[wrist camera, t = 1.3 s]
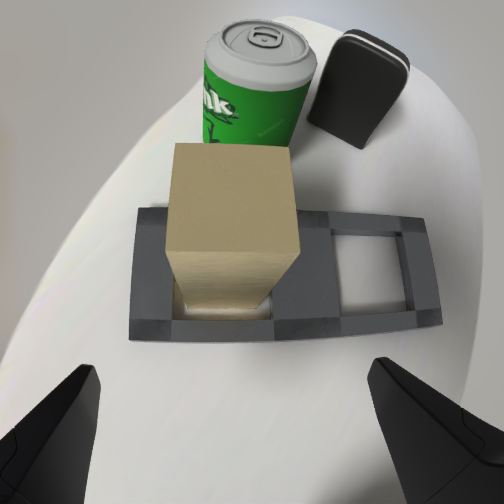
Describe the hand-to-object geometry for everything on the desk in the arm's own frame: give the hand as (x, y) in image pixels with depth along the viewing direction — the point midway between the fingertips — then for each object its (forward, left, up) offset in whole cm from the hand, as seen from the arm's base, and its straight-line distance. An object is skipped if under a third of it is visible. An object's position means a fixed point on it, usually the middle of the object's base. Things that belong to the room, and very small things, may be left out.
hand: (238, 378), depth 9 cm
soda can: (+19, -2, -13) cm, 23 cm away
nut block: (+7, 0, -13) cm, 15 cm away
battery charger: (+23, -12, -13) cm, 29 cm away
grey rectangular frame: (+7, -6, -13) cm, 16 cm away
